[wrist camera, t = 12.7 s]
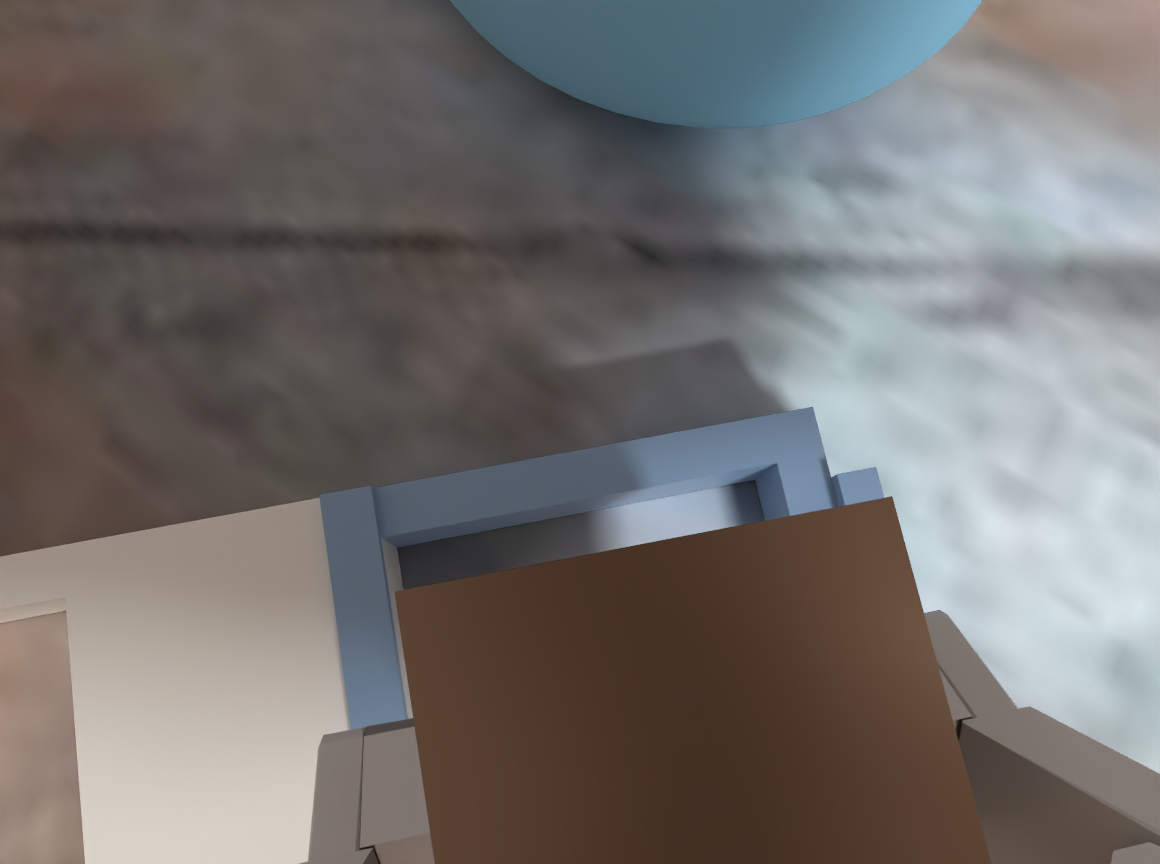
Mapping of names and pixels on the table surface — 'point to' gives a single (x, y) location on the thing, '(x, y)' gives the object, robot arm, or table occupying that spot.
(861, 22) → the sugar bowl
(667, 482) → the two-window frame tray
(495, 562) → the table surface
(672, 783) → the walnut block
